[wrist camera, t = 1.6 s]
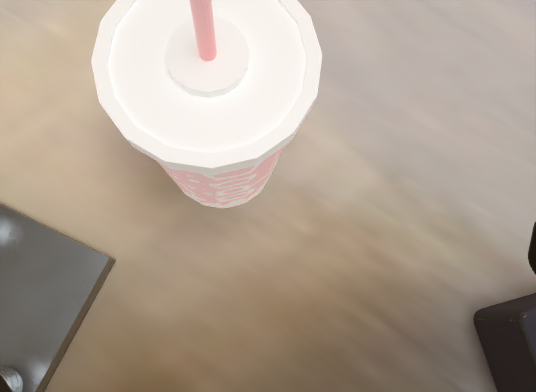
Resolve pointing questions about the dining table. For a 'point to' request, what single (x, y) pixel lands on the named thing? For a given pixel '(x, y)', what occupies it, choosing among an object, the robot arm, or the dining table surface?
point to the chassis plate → (41, 297)
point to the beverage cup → (208, 87)
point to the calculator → (510, 343)
